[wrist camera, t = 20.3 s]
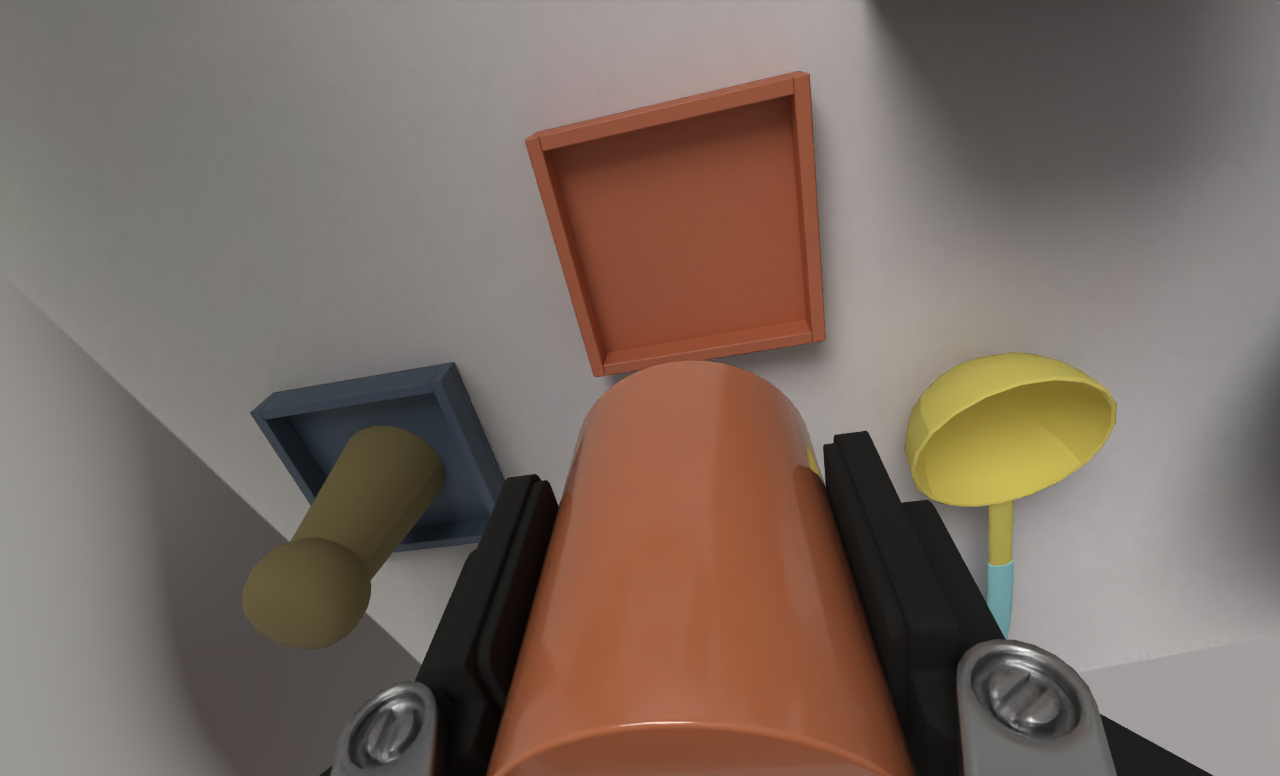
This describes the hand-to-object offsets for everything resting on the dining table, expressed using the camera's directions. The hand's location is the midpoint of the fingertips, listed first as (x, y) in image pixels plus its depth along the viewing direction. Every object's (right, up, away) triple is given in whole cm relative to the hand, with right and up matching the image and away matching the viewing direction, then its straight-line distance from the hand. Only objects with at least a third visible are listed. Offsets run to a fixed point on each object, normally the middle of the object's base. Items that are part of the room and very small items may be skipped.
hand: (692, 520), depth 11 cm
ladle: (+19, -5, +24) cm, 31 cm away
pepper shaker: (-16, -2, +24) cm, 28 cm away
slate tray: (-15, -2, +24) cm, 29 cm away
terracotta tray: (+1, +10, +16) cm, 19 cm away
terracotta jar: (0, +1, +2) cm, 2 cm away
